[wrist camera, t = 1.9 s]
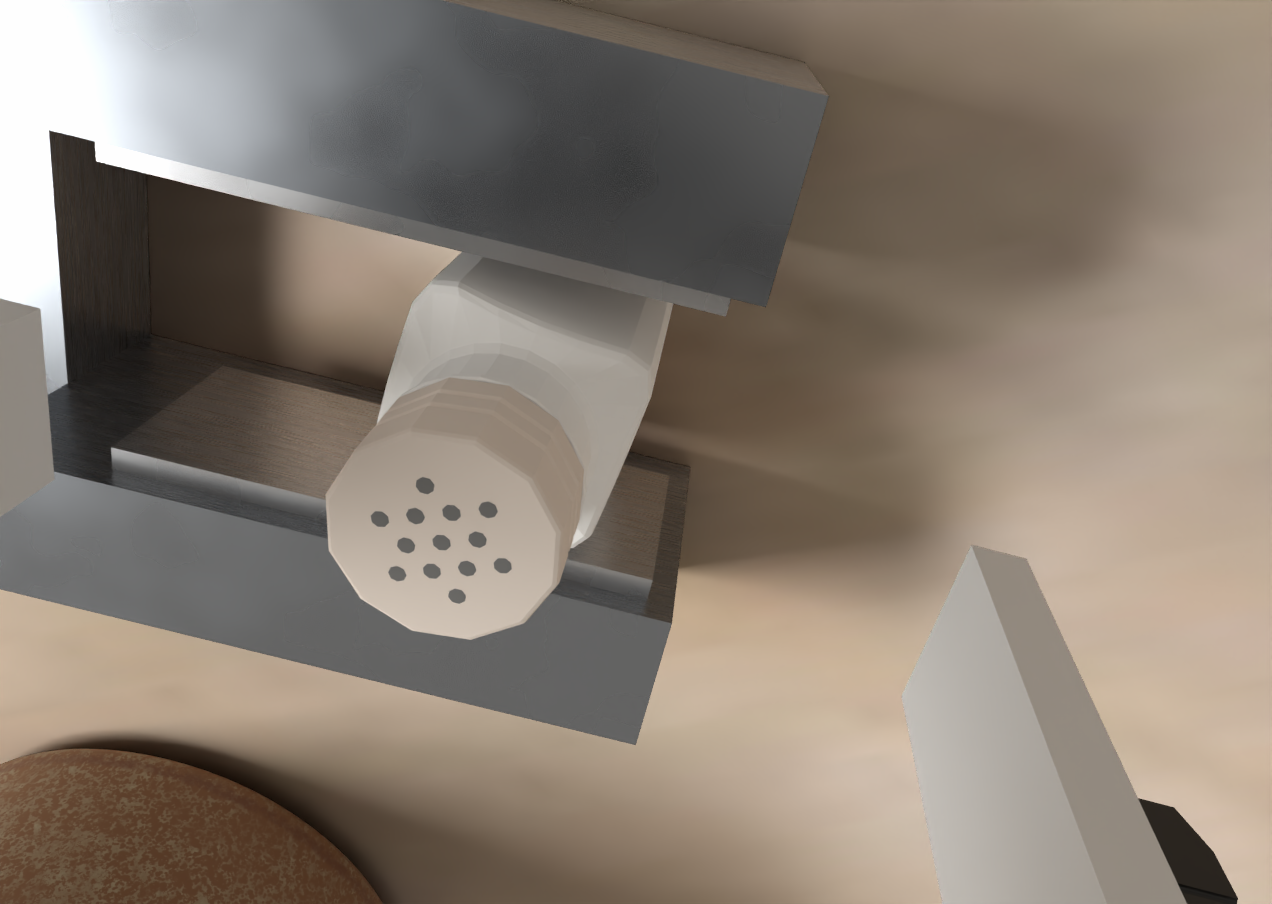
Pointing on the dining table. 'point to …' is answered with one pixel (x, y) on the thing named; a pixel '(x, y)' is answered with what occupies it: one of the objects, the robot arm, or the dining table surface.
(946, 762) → the robot arm
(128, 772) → the planter
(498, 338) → the pepper shaker
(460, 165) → the vise
